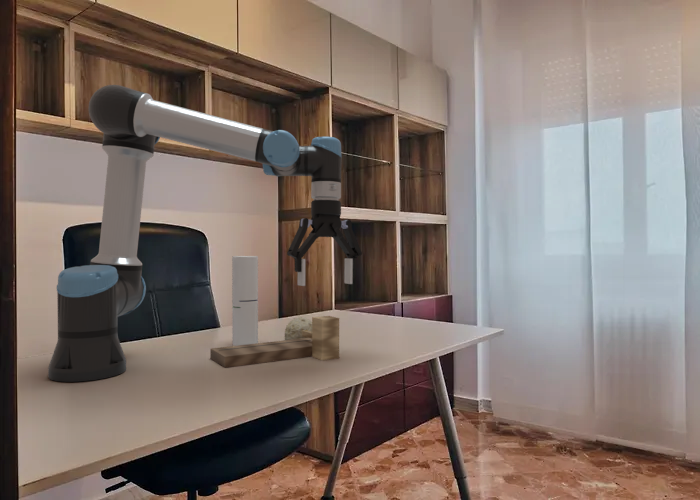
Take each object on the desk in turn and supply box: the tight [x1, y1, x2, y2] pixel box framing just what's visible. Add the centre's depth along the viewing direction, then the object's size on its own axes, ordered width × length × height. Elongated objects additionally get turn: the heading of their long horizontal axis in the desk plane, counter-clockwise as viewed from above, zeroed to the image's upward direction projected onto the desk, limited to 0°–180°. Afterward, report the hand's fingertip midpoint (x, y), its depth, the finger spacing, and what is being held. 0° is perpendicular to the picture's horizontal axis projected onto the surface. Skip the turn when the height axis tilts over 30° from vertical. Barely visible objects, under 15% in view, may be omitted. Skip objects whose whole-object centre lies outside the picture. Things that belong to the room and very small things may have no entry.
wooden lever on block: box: [302, 315, 340, 361], centre depth 130 cm, size 5×14×10 cm, turn 33°
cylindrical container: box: [231, 255, 259, 346], centre depth 143 cm, size 7×7×25 cm
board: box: [210, 338, 312, 369], centre depth 128 cm, size 30×11×3 cm, turn 123°
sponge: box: [283, 316, 312, 340], centre depth 145 cm, size 9×10×10 cm
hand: (325, 284), depth 126 cm, fingers open, 13 cm apart
